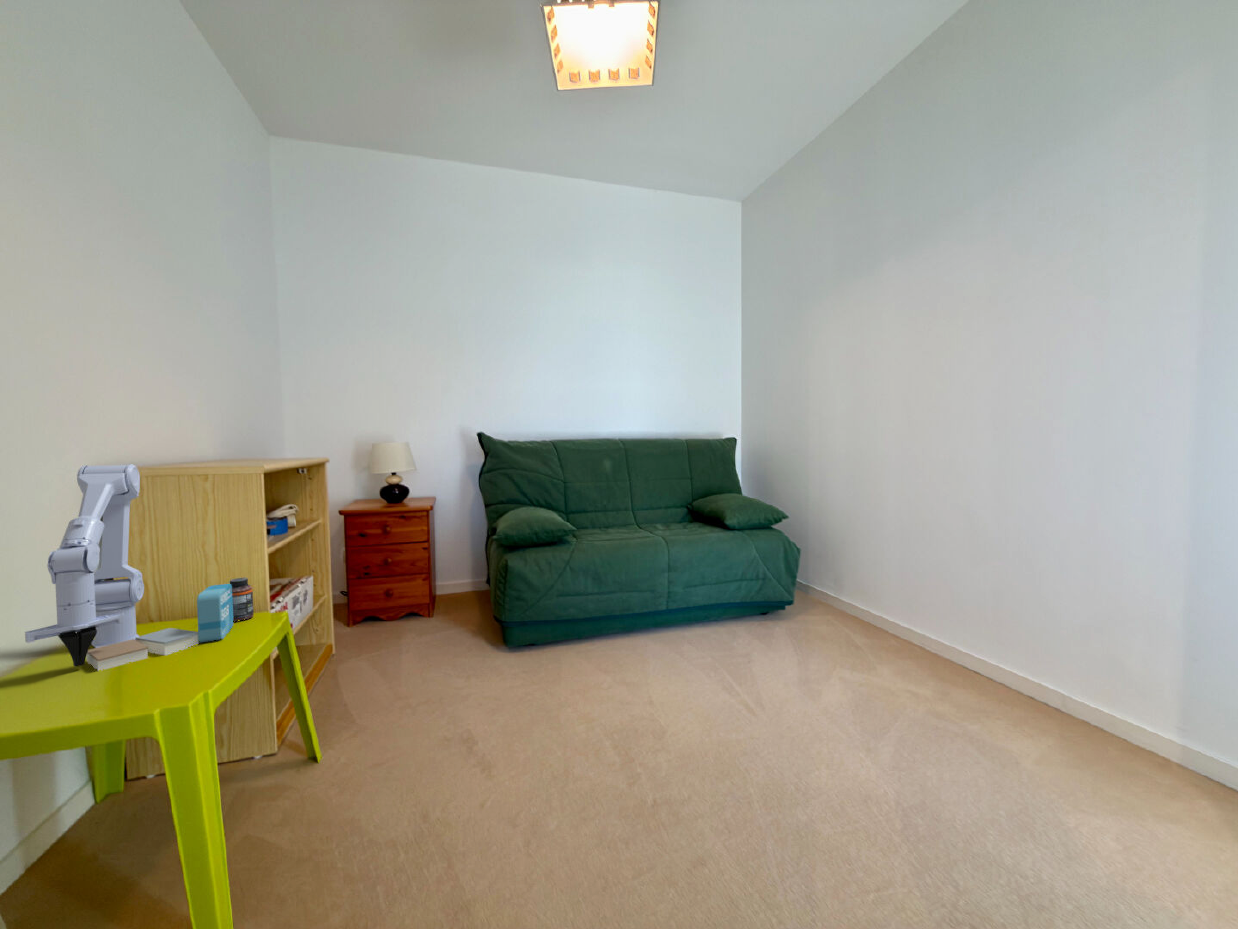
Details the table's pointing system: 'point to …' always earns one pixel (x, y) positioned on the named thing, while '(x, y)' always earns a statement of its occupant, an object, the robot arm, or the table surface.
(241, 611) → the supplement bottle
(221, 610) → the blue box
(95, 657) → the book walnut
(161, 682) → the table surface
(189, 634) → the book grey
